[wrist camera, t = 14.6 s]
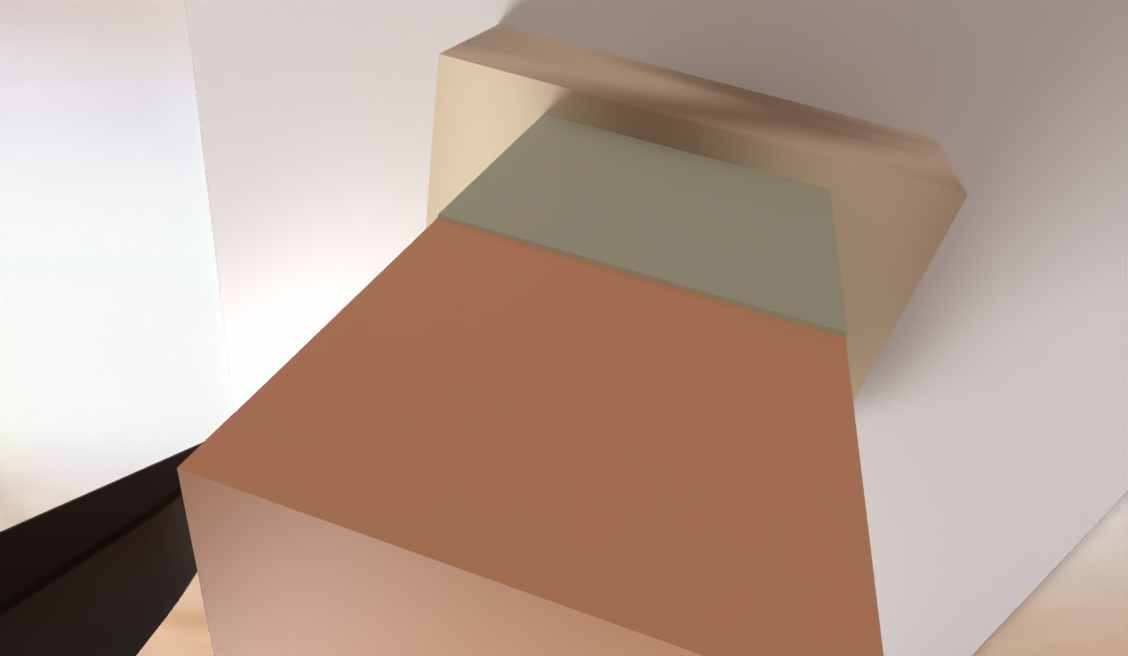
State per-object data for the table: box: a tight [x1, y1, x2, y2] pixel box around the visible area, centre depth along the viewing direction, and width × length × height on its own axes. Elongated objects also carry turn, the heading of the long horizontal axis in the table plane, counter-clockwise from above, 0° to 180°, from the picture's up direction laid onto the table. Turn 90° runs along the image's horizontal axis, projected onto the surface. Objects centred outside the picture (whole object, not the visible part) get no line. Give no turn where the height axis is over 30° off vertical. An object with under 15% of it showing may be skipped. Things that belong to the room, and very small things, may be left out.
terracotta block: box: [177, 218, 884, 656], centre depth 8 cm, size 5×7×4 cm
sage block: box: [438, 114, 848, 338], centre depth 12 cm, size 5×7×4 cm
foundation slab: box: [426, 25, 968, 401], centre depth 15 cm, size 9×8×3 cm
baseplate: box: [185, 0, 1128, 656], centre depth 18 cm, size 24×20×1 cm
